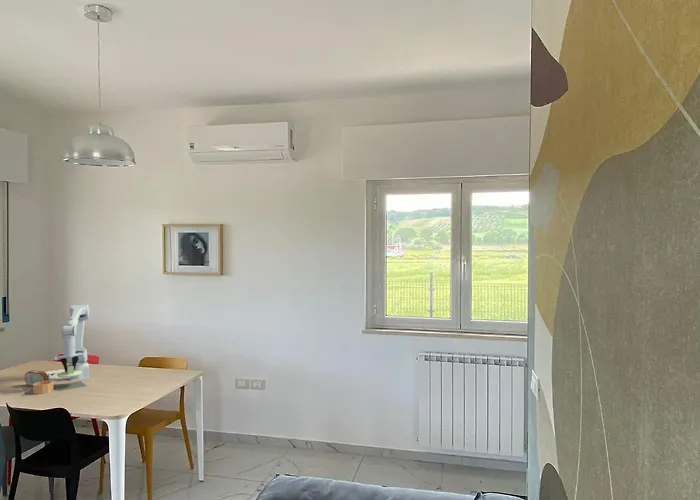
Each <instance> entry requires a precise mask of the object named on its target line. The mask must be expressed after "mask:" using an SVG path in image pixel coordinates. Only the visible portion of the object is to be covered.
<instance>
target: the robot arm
mask: <svg viewBox="0 0 700 500" xmlns="http://www.w3.org/2000/svg"><path fill="white" fill-rule="evenodd" d="M68 310H69V315H70V317H69V318H68V319H67V321H66V323H65V325H63V326H62V328H61V335H62V337H61V338H62V340H63V342H62V343H63V344H62V345H63V347H62V348H63V350H62V351H63V354H60V355H55V356H53V357H54V358H53V360H54V361H58V360H59V361H60V362H61V364H62V366H63V368H64V372H67V365H73V366H74V370H79V371H82V374H80V375H77V376H73V377H68V379H69V380H70V381H71V382H75V381H81V380H84V379H89V378H90V366H89V362H88V350H87V349H86V348H85V347H84V346H83V344H84V334H85V333H84V332H85V325H86V320H88V319H89V318H90V310H91V309H90V305H89V304H71V305H70V306H69V309H68Z"/></svg>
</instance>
